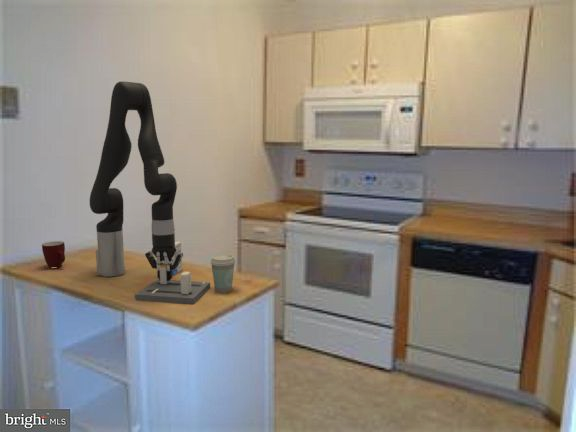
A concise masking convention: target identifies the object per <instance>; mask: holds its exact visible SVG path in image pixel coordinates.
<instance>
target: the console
mask: <svg viewBox="0 0 576 432" xmlns="http://www.w3.org/2000/svg"><path fill="white" fill-rule="evenodd" d="M210 289H211V282H210V281H209V282H208V281H194V280H191V292H190V293H189V294H181V280H173V279H171V280H170V282H169V283H167V284H160V281H159V279H158V278H157V279H155V280H154V281H152V282H151V283H149V284H148V285H146V286H145V287H144V288H142V289H141V290H139V291H138V292H136V293H135V294H134V297H135V301H144V302H154V303H155V302H157V303H167V304H168V303H169V304H170V303H173V304H186V305H195V303H196V302H198V301H199V300H200V298H202V297H203V296H204V295H205V294H206V293H207V292H208V291H209V290H210Z"/></svg>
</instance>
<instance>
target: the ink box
mask: <svg viewBox="0 0 576 432" xmlns="http://www.w3.org/2000/svg"><path fill="white" fill-rule="evenodd" d="M175 248H176V251H177V252H179V253H182V241H176V240H175ZM175 259H176V258H175V254H174V256H173V257H172V260H173V262H172V265H173V263H174V261H175ZM182 262H183V261H182V259H181V261H180V263H179V265H178V267H177V268H175V269H174V270H172V276H175V275H176V274H178V273H180V272H181V271H182V270H183V263H182ZM163 263H165V261H164V262H163Z"/></svg>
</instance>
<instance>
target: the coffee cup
mask: <svg viewBox="0 0 576 432" xmlns="http://www.w3.org/2000/svg"><path fill="white" fill-rule="evenodd" d="M209 263H210V264H211V270H212V271H211V272H212V279H213V284H214V285H213V286H214V291H215V292H216V293H218V294H219V293H221V294H224V293H225V294H226V293H230V292H232V290H233V282H234V280H233V279H234V274H235V273H234V272H235V271H234V270H235V264H236V259H235V256H234V255H232V254H228V253H227V254H225V253H221V254H216V255H213V256H212V257H211V260H210V262H209ZM229 291H230V292H229Z"/></svg>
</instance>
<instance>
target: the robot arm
mask: <svg viewBox="0 0 576 432" xmlns="http://www.w3.org/2000/svg"><path fill="white" fill-rule="evenodd" d="M151 98H152V97H151V95H150V91H149V88H147V86H146V85H145V84H144V83H141V82H131V81H118V82H117V83H115V84H114V86H113V89H112V93H111V98H110V108H109V116H108V117H109V118H108V124H107V129H106V135H105V139H104V142H103V145H102V150H101V156H100V162H99V166H98V170H97V173H96V177H95V180H94V183H93V186H92V189H91V191H90V196H89V208H90V210H91V212H92V213H94V214H95V215H96V214H97V215H103V214H107V215H106V217H105V218H104V219H103V220H101V221H99V222H98V223H97V224H96V225H95V226H96V228H95V229H96V238H97V239H96V240H97V249H96V251H95V260H96V275H97V276H101V277H105V278H106V277H109V278H111V277H117V276H122V275H123V274H125V273H126V266H125V249H124V246H125V245H124V233H123V224H124V198H123V193H122V191H121V190H120V189H119V188H118V187H111V185H112V183H113V182H114V180H115V179H116V178H117V177H118V176H119V175H120V174H121V173H122V172H123V171H124V169H125V167H126V166H127V165H128V162H129V160H130V155H131V152H132V147H133V145H132V141H131V138H130V136H129V133H128V130H127V128H126V119H127V114H128V112H129V111H137V113H138V117H139V118H140V127H139V128H140V129H139V133H138V139H137V147H138V151H139V155H140V158H141V161H142V164H143V182H144V187H145V189H146V191H147V193H149V194H150V195H151V196H159V199H158V200H156V201H155V202H153V203H152V204H151V240H152V241H151V242H152V243H151V244H152V248H151V250H150V251H148V252H146V253H145V254H144V255H145V258H146V259H147V261H148V263H149V265H150V267H151V268H152V269H155V270H156V273H157V279H159V281H160V265H161V264H163V262H164V261H165V264H166V268H167V271H166V273H167V281H170V280H173V275H172V270H174V269H175V268H177V267H178V265H179V263H180V261H181V259H182V258H183V257H184V253H183V252H181V253H179V252H177V251H176V248H175V241H176V237H175V233H176V232H175V230H176V229H175V221H174V203H175V198H176V195H177V189H178V184H177V180H176V178H175V176H174V175H173V174H171V173H168V172H165V173H159V168H161V167H163V166H164V165H165V157H164V154H163V152H162V149H161V145H160V141H159V139H158V136H157V129H156V124H155V123H156V122H155V116H154V109H153V103H152V99H151ZM174 254H175V258H176V259H175V261H174V263H173V265H172V262H173V260H172V257H173V256H174Z"/></svg>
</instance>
